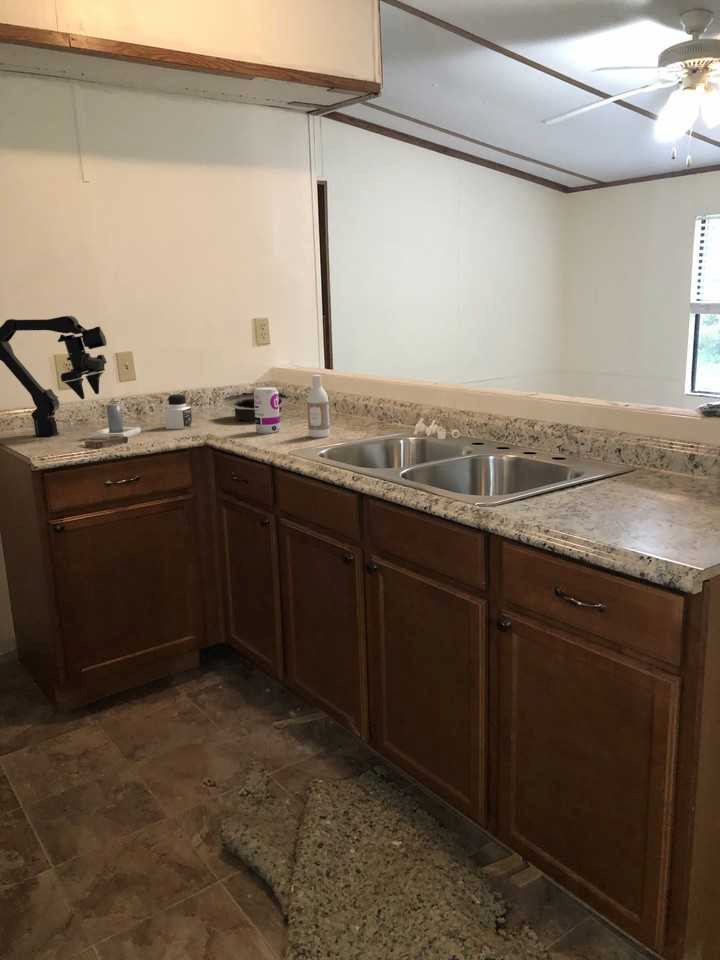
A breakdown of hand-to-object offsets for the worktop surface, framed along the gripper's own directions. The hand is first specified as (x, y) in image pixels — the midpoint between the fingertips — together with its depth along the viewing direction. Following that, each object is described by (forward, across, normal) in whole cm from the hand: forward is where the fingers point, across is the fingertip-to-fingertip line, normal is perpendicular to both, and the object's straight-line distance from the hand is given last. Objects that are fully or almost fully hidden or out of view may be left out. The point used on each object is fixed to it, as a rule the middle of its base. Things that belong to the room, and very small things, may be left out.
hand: (90, 396), depth 272 cm
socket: (+15, -20, -14) cm, 28 cm away
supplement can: (+25, +7, -59) cm, 64 cm away
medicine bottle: (+18, +13, -23) cm, 32 cm away
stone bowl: (+24, +34, -45) cm, 61 cm away
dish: (+15, -5, -9) cm, 18 cm away
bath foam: (+28, 0, -78) cm, 83 cm away
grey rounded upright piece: (+14, -5, -9) cm, 17 cm away
